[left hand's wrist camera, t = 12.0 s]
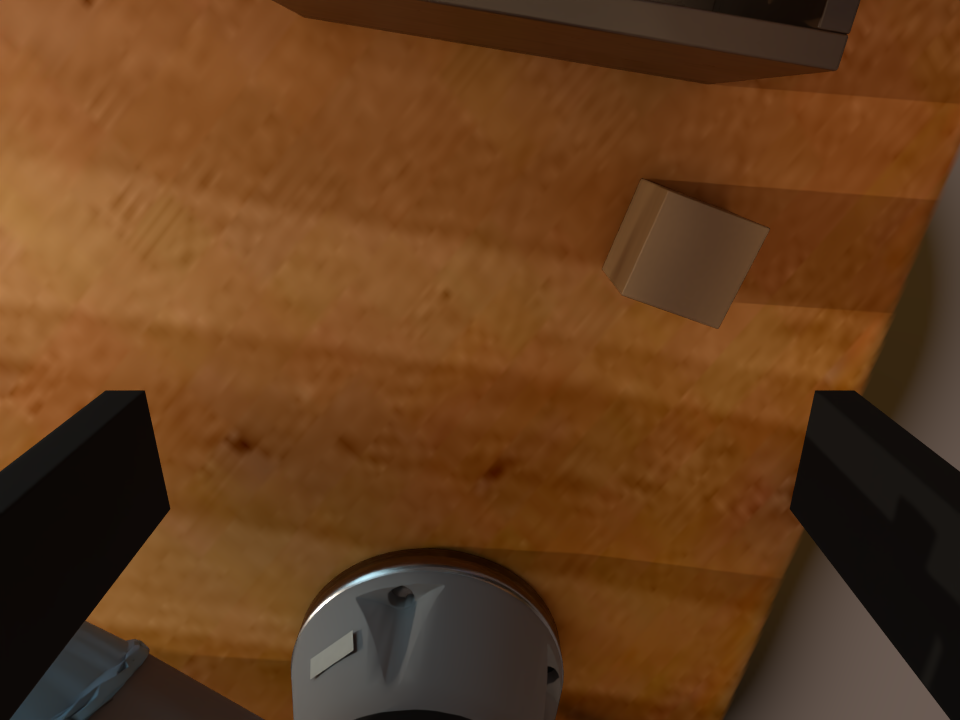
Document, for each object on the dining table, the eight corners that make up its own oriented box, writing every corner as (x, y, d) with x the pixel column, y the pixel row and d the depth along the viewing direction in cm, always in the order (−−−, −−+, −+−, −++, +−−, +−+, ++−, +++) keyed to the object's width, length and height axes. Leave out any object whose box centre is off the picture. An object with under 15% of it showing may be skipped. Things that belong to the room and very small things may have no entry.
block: (729, 211, 28) (771, 228, 24) (686, 299, 30) (718, 329, 26) (641, 177, 28) (668, 190, 24) (601, 269, 29) (621, 295, 25)
